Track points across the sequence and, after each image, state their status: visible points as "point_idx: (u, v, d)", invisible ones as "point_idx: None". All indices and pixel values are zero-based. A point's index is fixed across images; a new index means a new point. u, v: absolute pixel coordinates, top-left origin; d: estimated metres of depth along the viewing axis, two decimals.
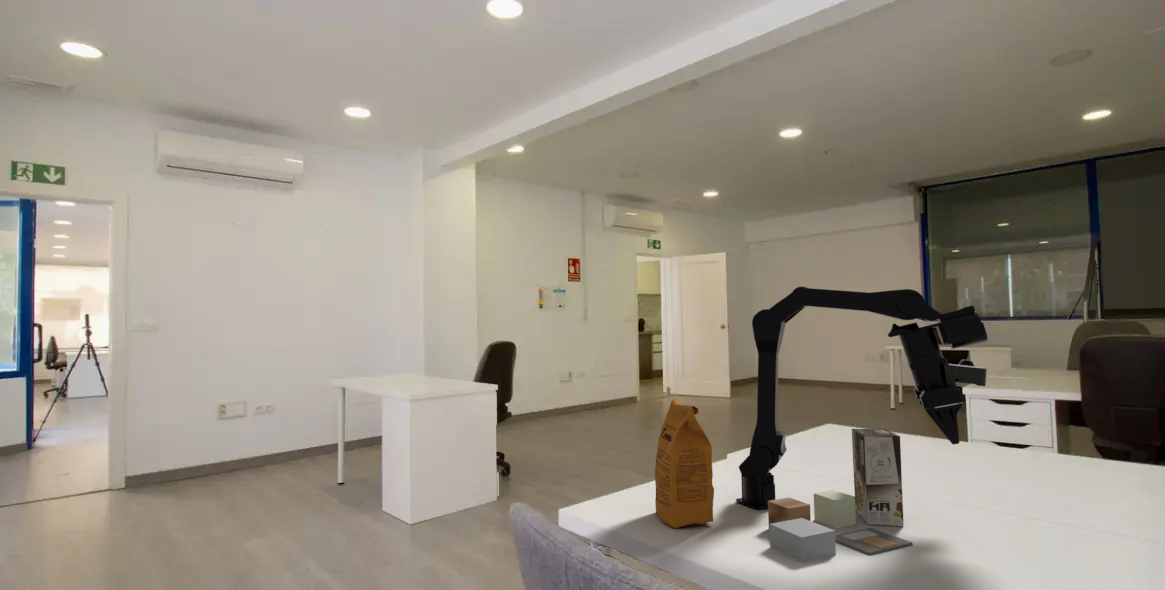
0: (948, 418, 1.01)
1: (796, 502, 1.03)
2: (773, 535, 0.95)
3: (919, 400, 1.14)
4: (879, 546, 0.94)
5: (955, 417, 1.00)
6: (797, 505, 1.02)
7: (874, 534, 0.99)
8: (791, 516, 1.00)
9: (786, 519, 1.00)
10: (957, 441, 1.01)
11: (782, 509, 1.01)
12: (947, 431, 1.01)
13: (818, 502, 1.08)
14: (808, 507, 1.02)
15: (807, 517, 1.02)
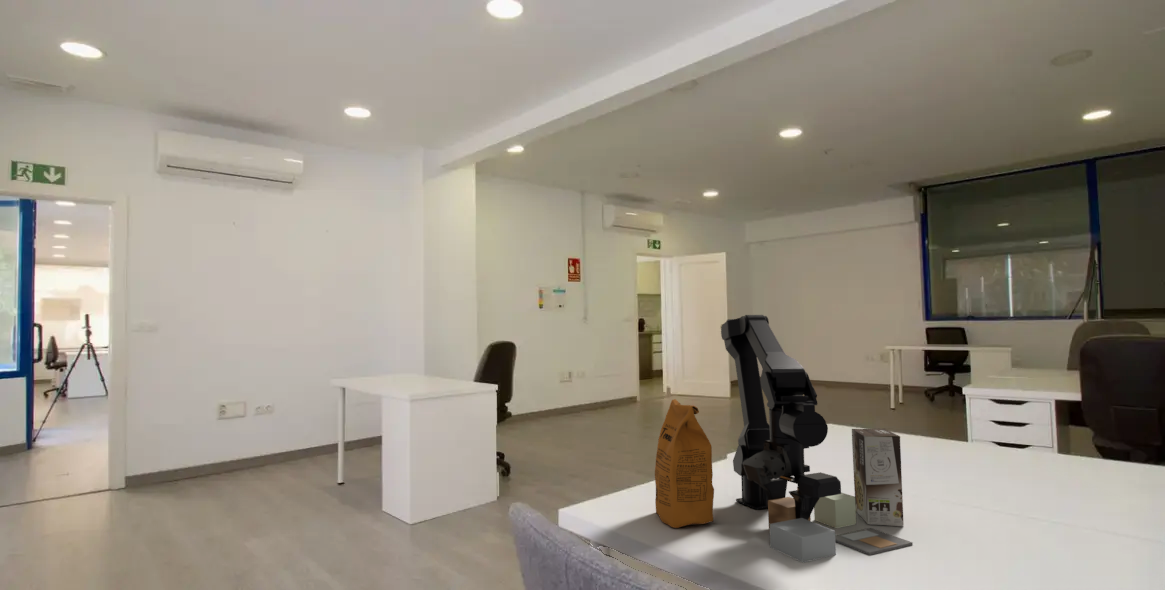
0: None
1: None
2: (773, 535, 0.95)
3: None
4: (879, 546, 0.94)
5: None
6: None
7: (874, 534, 0.99)
8: (791, 515, 1.00)
9: (786, 518, 1.00)
10: None
11: (782, 508, 1.01)
12: None
13: (818, 502, 1.08)
14: None
15: None
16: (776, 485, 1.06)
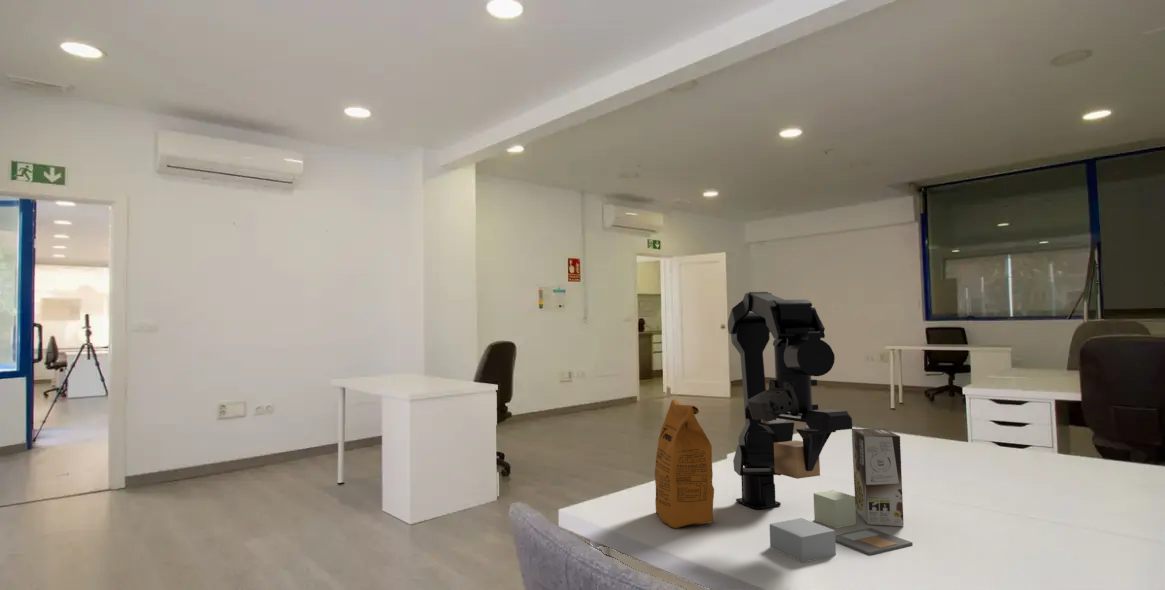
0: None
1: None
2: (773, 535, 0.95)
3: None
4: (879, 546, 0.94)
5: (772, 436, 1.01)
6: None
7: (874, 534, 0.99)
8: (799, 455, 0.94)
9: (793, 459, 0.94)
10: None
11: (789, 448, 0.95)
12: None
13: (818, 502, 1.08)
14: None
15: None
16: (782, 427, 1.00)
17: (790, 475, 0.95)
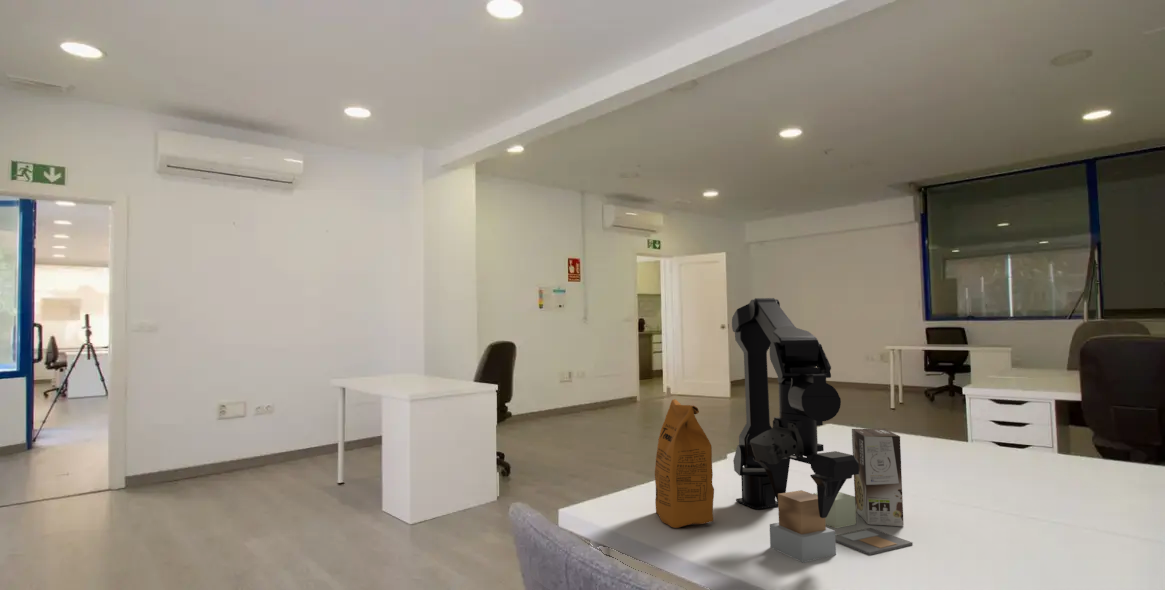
0: None
1: (809, 495, 0.94)
2: (773, 535, 0.95)
3: None
4: (879, 546, 0.94)
5: None
6: (810, 498, 0.93)
7: (874, 534, 0.99)
8: (804, 510, 0.91)
9: (798, 513, 0.91)
10: (777, 499, 0.98)
11: (794, 502, 0.92)
12: None
13: None
14: None
15: None
16: (777, 464, 0.99)
17: (794, 530, 0.92)
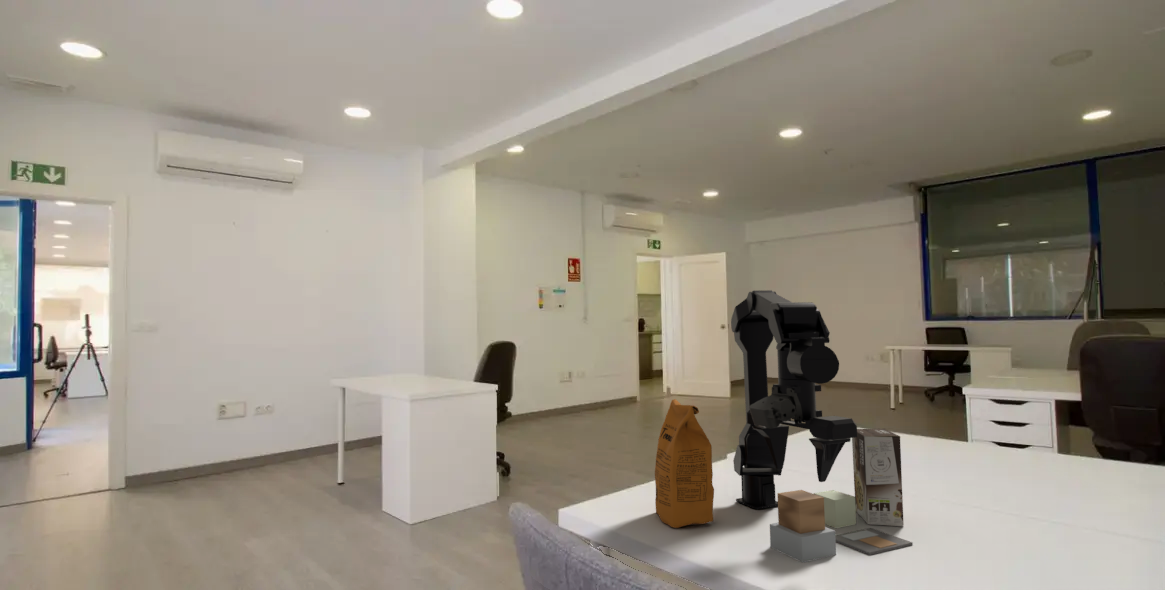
0: None
1: (809, 495, 0.94)
2: (773, 535, 0.95)
3: None
4: (879, 546, 0.94)
5: None
6: (809, 497, 0.93)
7: (874, 534, 0.99)
8: (802, 509, 0.91)
9: (797, 513, 0.92)
10: None
11: (793, 502, 0.92)
12: None
13: None
14: (822, 500, 0.93)
15: (821, 511, 0.93)
16: (776, 431, 1.00)
17: (793, 529, 0.92)
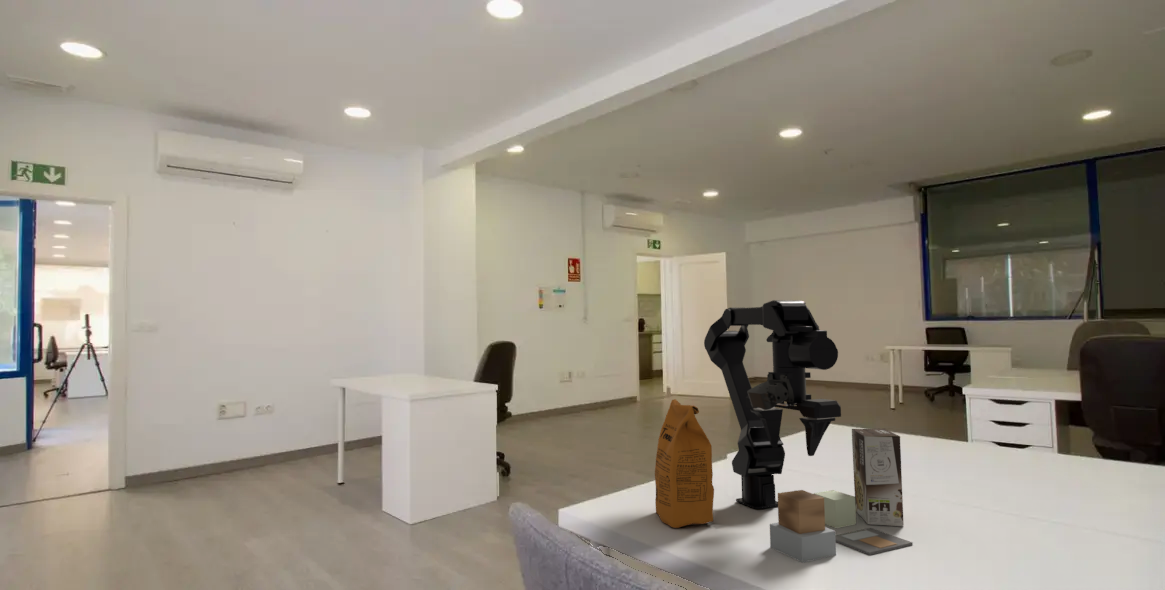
0: None
1: (809, 495, 0.94)
2: (773, 535, 0.95)
3: None
4: (879, 546, 0.94)
5: None
6: (809, 498, 0.93)
7: (874, 534, 0.99)
8: (802, 509, 0.91)
9: (796, 513, 0.91)
10: None
11: (792, 502, 0.92)
12: None
13: None
14: (822, 501, 0.93)
15: (821, 511, 0.92)
16: (771, 414, 1.13)
17: (793, 529, 0.92)
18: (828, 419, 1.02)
